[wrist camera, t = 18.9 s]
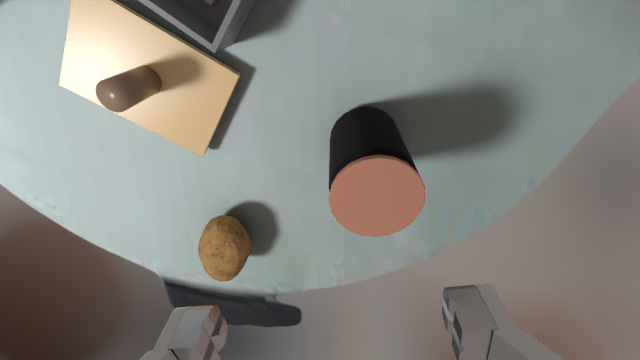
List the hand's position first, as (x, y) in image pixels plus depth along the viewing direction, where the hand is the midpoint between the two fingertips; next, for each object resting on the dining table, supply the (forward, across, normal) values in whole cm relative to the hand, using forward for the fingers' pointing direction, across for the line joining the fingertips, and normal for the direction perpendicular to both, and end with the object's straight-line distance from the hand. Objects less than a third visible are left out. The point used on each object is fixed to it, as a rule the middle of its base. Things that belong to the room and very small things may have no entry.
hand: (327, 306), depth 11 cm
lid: (+40, +26, -3) cm, 47 cm away
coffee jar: (+39, -4, +11) cm, 41 cm away
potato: (+39, +24, +27) cm, 53 cm away
